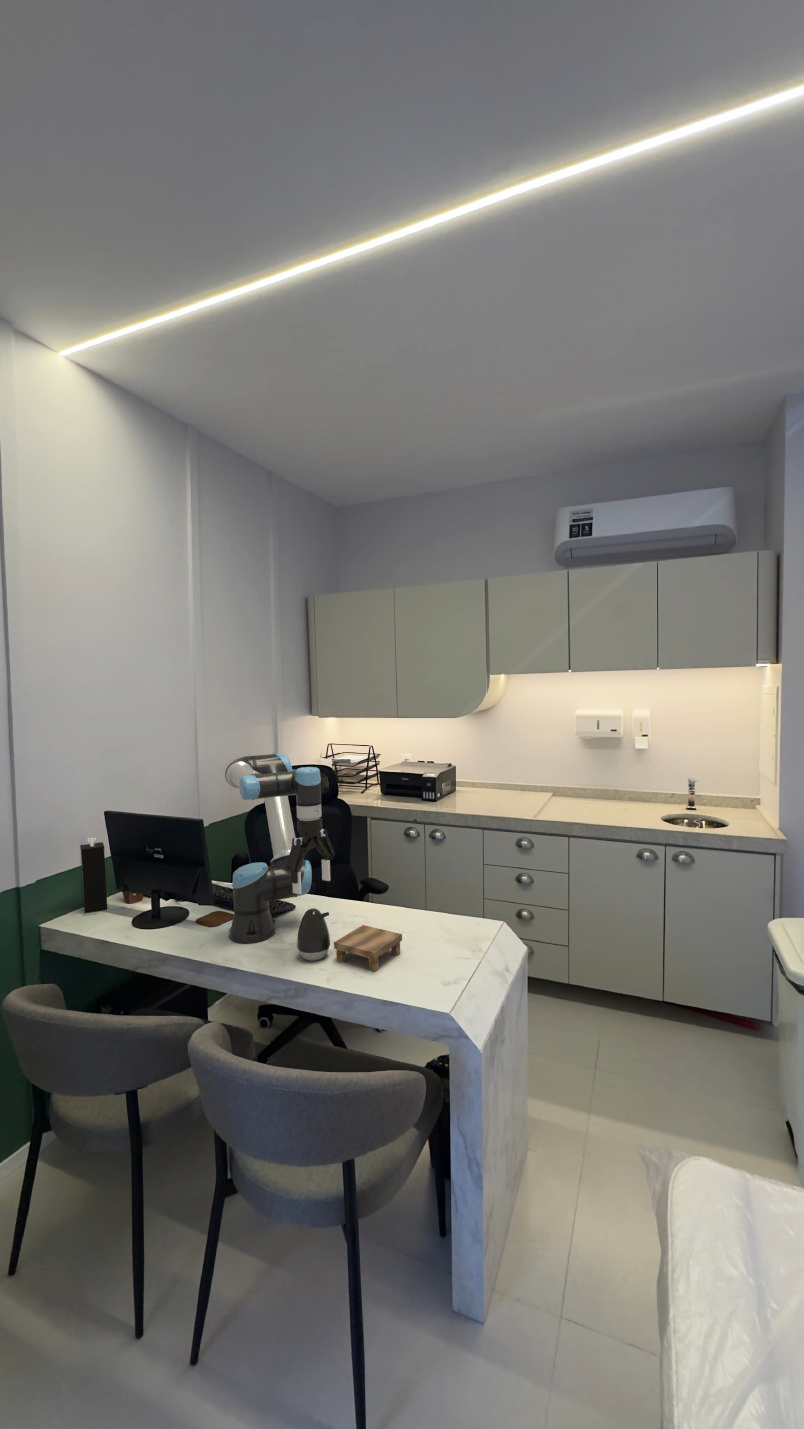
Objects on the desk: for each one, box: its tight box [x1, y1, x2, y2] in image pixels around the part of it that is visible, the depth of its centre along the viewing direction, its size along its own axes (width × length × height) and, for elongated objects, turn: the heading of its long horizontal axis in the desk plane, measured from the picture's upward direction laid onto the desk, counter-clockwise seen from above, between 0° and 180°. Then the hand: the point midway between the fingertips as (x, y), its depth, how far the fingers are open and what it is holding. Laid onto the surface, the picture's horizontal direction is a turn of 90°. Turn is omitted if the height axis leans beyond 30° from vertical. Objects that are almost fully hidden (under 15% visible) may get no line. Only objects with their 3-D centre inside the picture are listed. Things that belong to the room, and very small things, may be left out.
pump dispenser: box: [296, 907, 331, 962], centre depth 187 cm, size 10×10×15 cm
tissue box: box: [79, 837, 108, 914], centre depth 235 cm, size 8×8×28 cm
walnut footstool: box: [333, 924, 403, 972], centre depth 186 cm, size 15×15×6 cm
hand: (312, 886), depth 187 cm, fingers open, 13 cm apart
